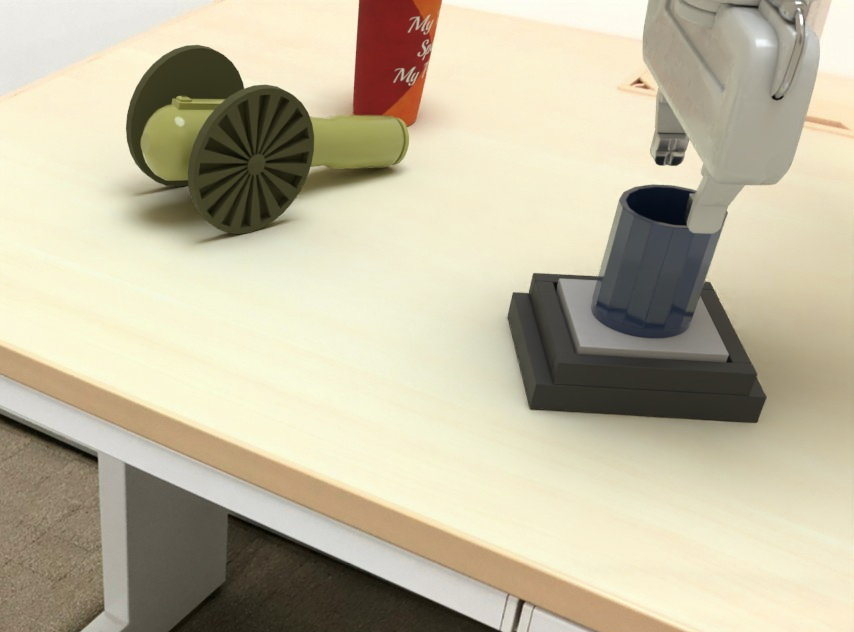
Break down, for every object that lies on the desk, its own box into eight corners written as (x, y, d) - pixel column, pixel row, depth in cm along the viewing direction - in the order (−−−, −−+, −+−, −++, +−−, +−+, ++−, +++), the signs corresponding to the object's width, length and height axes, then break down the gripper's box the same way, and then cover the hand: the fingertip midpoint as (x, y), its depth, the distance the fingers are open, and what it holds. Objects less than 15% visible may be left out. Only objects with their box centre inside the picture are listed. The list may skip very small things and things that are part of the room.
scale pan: (688, 308, 85) (695, 284, 84) (720, 378, 78) (729, 354, 77) (553, 300, 86) (558, 277, 85) (574, 370, 79) (580, 345, 78)
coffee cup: (420, 138, 113) (448, -38, 103) (331, 126, 115) (350, -47, 106) (435, 106, 119) (463, -64, 109) (350, 95, 121) (370, -72, 112)
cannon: (354, 140, 113) (369, 9, 106) (437, 188, 105) (460, 50, 98) (109, 195, 104) (108, 57, 97) (180, 253, 96) (184, 107, 89)
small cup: (678, 293, 83) (713, 186, 78) (701, 341, 78) (739, 230, 73) (583, 288, 84) (611, 182, 79) (599, 335, 79) (630, 225, 74)
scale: (710, 326, 87) (726, 281, 85) (757, 422, 78) (776, 375, 76) (507, 315, 89) (517, 271, 86) (529, 409, 80) (541, 361, 77)
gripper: (882, 11, 58) (785, 277, 67) (762, -99, 74) (696, 130, 83) (742, 9, 59) (664, 272, 68) (652, -100, 74) (598, 127, 83)
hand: (681, 193), depth 76 cm, fingers open, 8 cm apart
